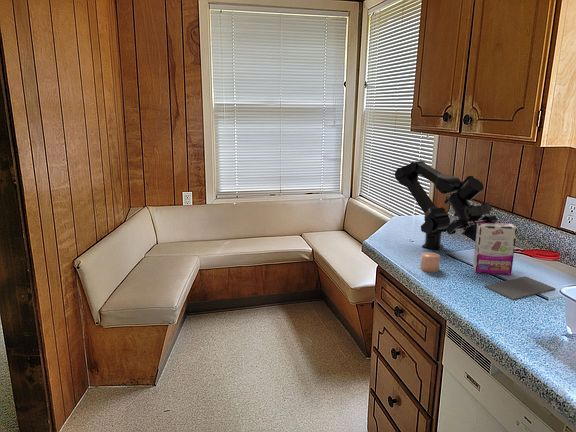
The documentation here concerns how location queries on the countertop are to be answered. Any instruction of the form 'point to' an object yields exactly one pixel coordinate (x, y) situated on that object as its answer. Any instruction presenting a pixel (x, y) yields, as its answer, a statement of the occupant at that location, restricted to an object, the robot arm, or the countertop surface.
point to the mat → (519, 287)
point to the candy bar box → (494, 248)
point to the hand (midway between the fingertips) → (483, 245)
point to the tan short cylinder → (430, 262)
